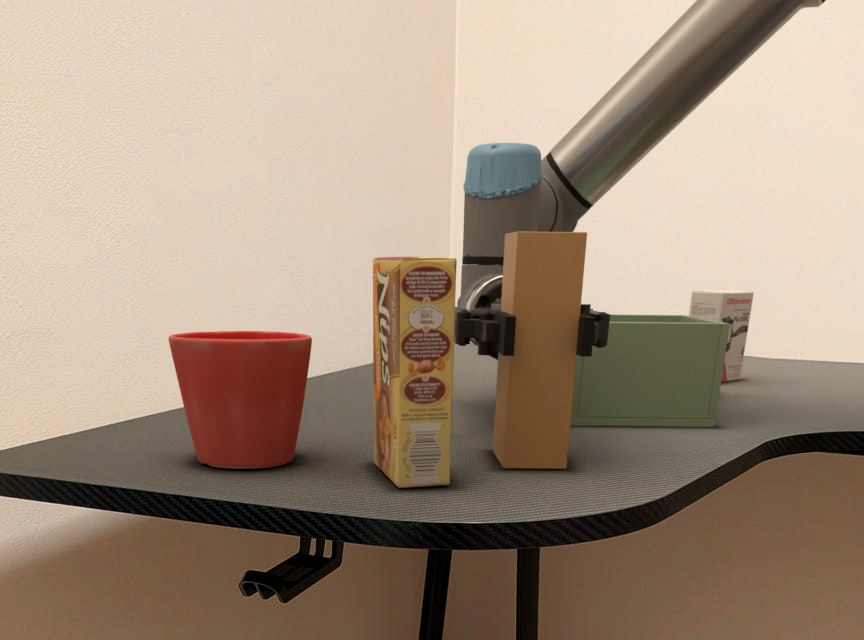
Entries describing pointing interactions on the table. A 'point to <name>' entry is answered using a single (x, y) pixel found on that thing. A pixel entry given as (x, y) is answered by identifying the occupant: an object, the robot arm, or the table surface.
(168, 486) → the table surface
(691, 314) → the ink box
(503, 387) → the block
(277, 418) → the flower pot
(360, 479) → the table surface
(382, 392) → the candy box
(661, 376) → the storage bin
